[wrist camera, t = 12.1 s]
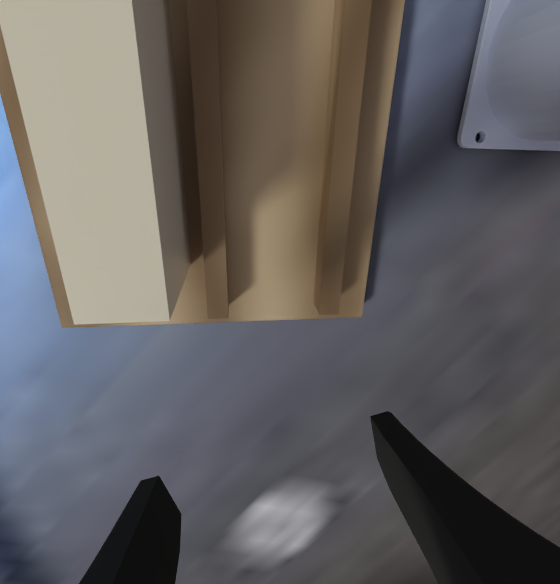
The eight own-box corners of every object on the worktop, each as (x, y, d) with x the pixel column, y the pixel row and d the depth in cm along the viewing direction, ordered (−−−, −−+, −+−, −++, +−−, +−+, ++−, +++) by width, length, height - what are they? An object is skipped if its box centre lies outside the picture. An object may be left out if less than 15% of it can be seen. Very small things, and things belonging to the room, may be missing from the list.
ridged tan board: (409, -108, 13) (446, -162, 11) (355, 309, 20) (371, 329, 18) (-51, -168, 11) (-125, -250, 9) (70, 318, 18) (46, 343, 16)
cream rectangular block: (164, -55, 12) (104, -227, 6) (191, 264, 17) (169, 321, 11) (74, -64, 12) (-69, -254, 6) (128, 265, 16) (74, 324, 11)
